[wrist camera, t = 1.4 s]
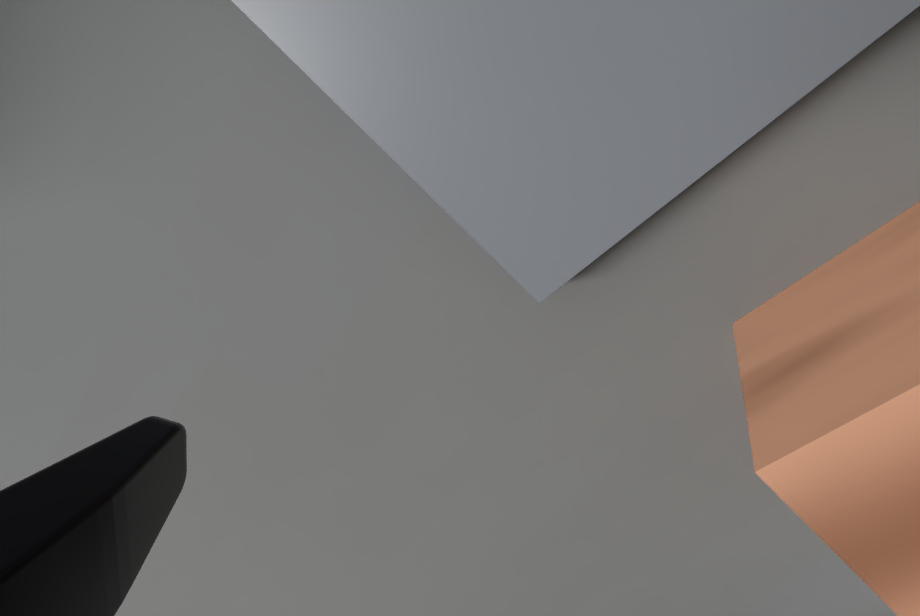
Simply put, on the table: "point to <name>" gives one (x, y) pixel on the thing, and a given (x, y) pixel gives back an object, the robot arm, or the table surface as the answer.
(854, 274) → the terracotta cube
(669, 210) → the table surface
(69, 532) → the robot arm
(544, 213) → the grey plate
